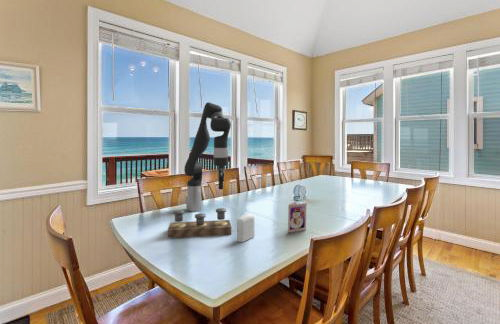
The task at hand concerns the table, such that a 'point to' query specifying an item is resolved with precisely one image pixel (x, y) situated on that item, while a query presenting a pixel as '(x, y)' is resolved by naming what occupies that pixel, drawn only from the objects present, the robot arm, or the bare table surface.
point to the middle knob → (200, 219)
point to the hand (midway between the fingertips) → (220, 188)
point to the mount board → (199, 229)
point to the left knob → (178, 215)
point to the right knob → (221, 213)
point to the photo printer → (245, 227)
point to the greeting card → (297, 217)
